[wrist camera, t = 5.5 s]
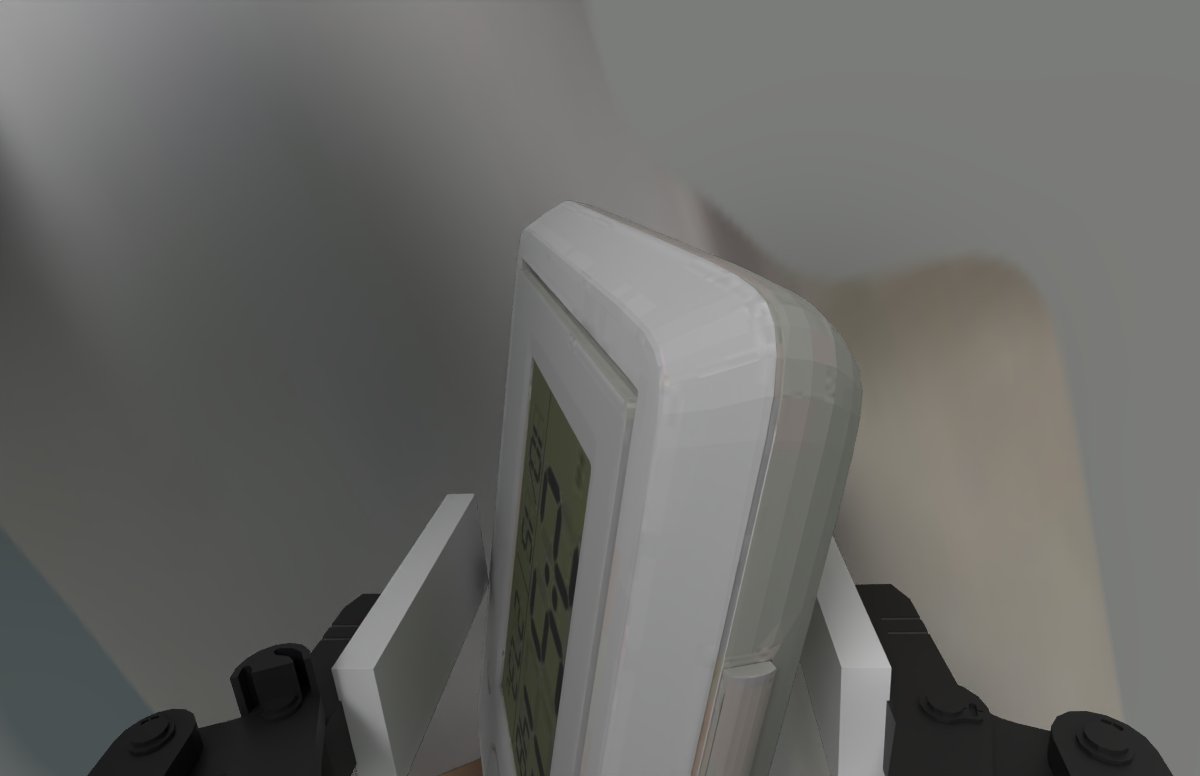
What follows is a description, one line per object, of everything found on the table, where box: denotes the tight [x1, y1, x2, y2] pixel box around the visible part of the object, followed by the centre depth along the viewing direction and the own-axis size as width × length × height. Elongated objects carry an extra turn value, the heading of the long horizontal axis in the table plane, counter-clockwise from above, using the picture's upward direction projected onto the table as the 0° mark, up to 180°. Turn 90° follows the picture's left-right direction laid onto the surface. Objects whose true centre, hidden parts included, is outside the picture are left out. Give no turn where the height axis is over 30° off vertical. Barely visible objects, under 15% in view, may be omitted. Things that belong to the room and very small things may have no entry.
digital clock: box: [478, 201, 862, 776], centre depth 14 cm, size 16×9×11 cm, turn 161°
